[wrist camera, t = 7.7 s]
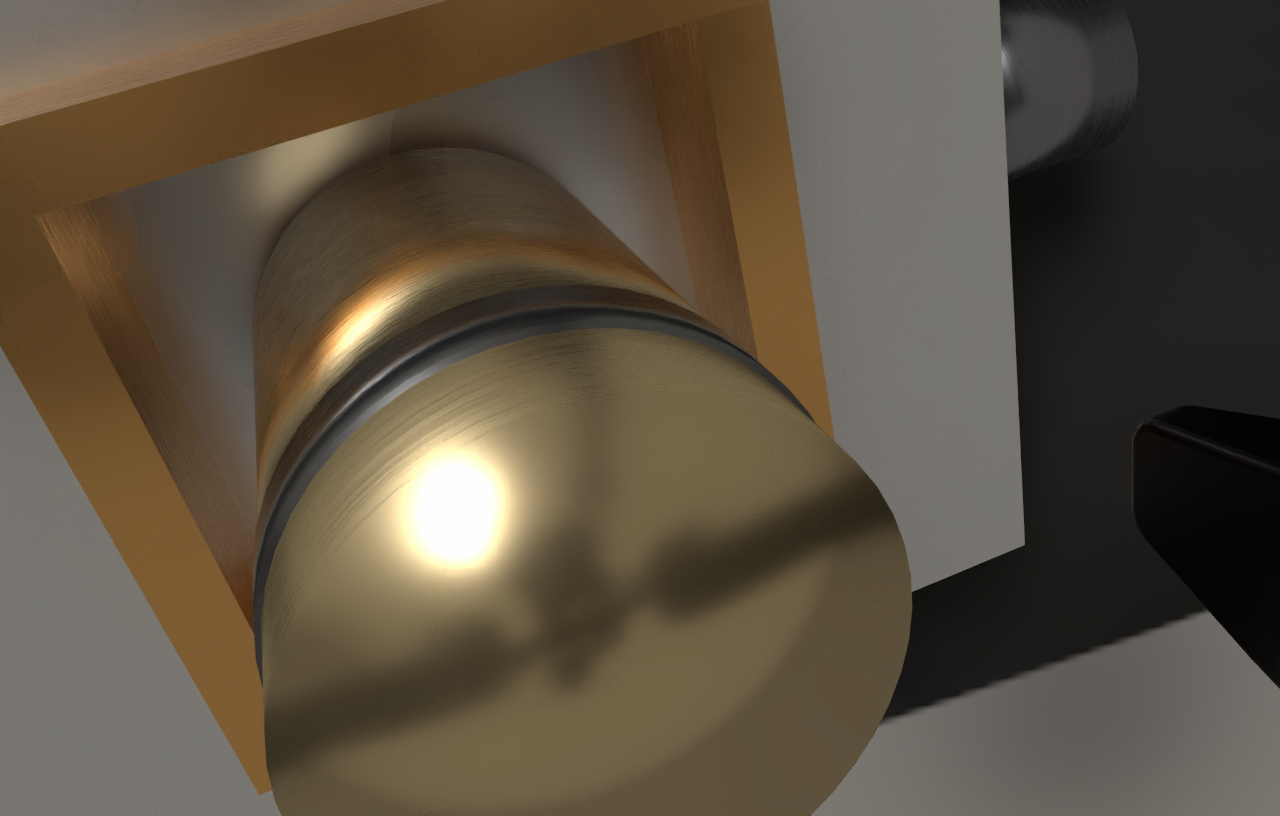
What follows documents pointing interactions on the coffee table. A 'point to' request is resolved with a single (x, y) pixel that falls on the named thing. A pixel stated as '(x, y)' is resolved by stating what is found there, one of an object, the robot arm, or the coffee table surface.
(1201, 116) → the coffee table surface
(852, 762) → the brass can
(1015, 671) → the coffee table surface
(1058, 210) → the coffee table surface
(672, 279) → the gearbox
